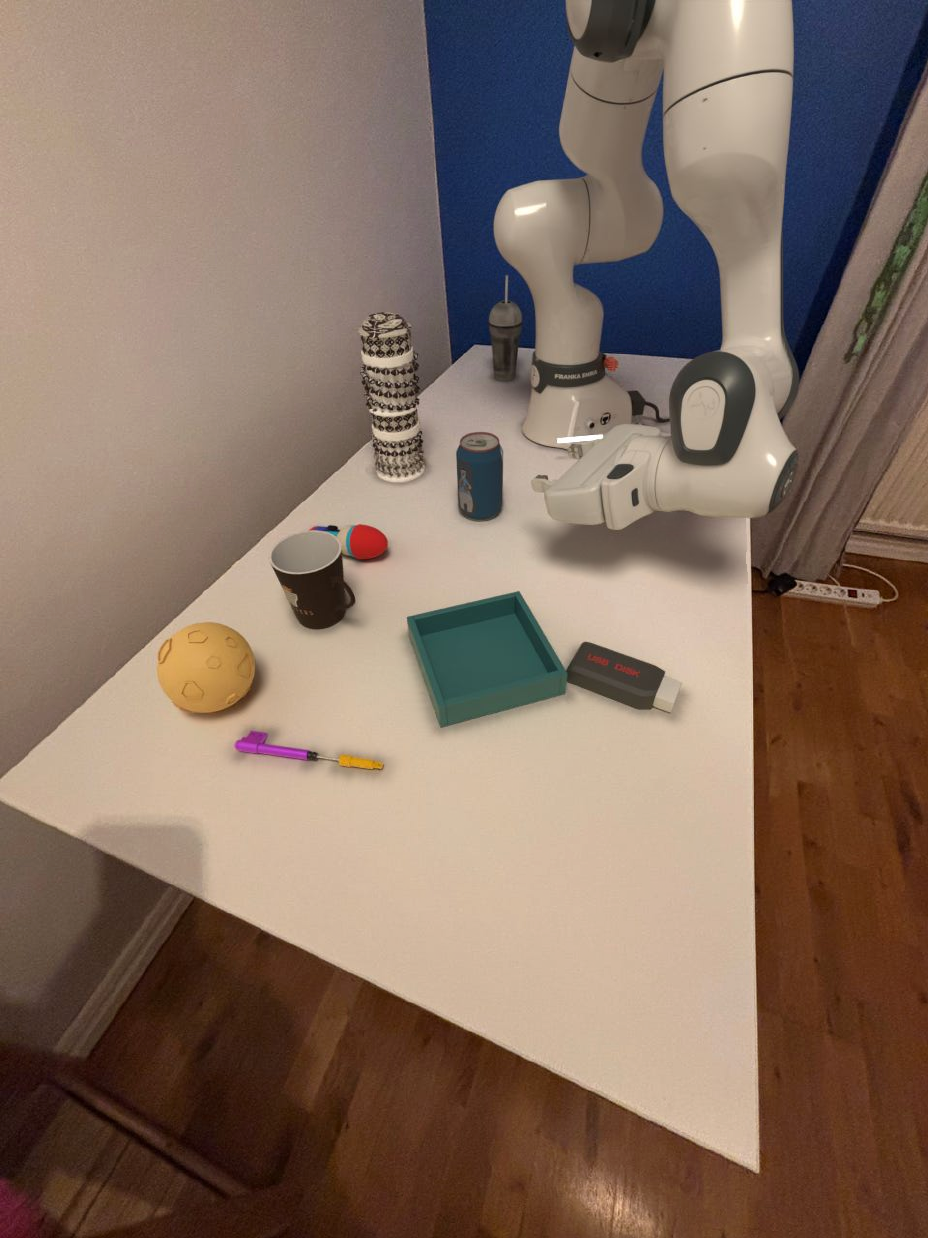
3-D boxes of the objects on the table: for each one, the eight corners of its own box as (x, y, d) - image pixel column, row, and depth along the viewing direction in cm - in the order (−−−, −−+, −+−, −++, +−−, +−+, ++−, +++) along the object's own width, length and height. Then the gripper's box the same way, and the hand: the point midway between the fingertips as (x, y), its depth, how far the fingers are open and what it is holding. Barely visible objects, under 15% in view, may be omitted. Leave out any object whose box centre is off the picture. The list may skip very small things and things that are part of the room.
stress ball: (166, 688, 69) (130, 627, 63) (247, 652, 73) (222, 590, 67) (191, 747, 63) (155, 686, 57) (278, 703, 67) (254, 641, 60)
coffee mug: (282, 601, 80) (263, 541, 73) (345, 584, 82) (331, 523, 75) (300, 659, 72) (281, 598, 65) (369, 638, 74) (357, 576, 68)
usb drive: (580, 651, 72) (582, 635, 70) (680, 687, 67) (686, 671, 65) (563, 680, 69) (565, 664, 67) (667, 720, 64) (673, 704, 62)
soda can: (505, 501, 96) (507, 431, 88) (498, 525, 91) (499, 454, 83) (463, 497, 97) (461, 428, 89) (454, 521, 93) (450, 450, 84)
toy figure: (292, 563, 88) (377, 571, 82) (281, 533, 86) (368, 540, 80) (321, 538, 94) (403, 545, 88) (312, 510, 91) (396, 514, 85)
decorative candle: (436, 473, 103) (426, 318, 86) (389, 489, 100) (368, 331, 83) (412, 452, 109) (397, 303, 92) (366, 466, 106) (342, 315, 89)
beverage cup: (486, 383, 131) (485, 281, 117) (490, 370, 136) (490, 271, 122) (519, 384, 130) (522, 282, 116) (522, 371, 135) (526, 272, 121)
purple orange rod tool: (233, 752, 62) (381, 774, 60) (231, 743, 62) (380, 765, 60) (246, 735, 65) (388, 756, 62) (244, 727, 64) (388, 747, 62)
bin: (518, 610, 77) (519, 590, 75) (565, 694, 67) (567, 673, 65) (409, 636, 74) (406, 616, 72) (440, 727, 64) (438, 707, 62)
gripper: (681, 412, 77) (587, 411, 86) (606, 490, 67) (507, 481, 75) (683, 457, 81) (592, 452, 89) (612, 538, 70) (517, 524, 79)
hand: (553, 466), depth 82 cm, fingers open, 8 cm apart
